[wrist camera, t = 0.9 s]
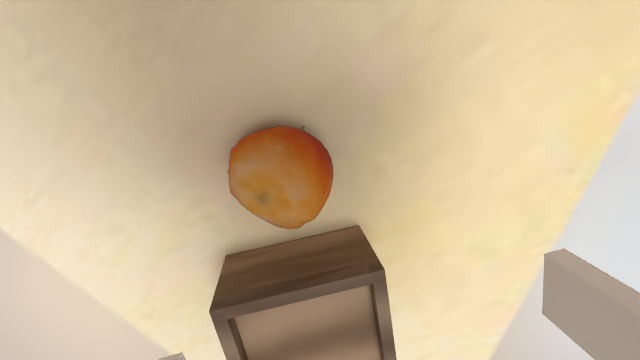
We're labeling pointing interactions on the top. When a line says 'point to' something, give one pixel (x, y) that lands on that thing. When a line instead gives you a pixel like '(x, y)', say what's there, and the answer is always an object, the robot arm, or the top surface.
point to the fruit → (281, 175)
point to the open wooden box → (305, 301)
